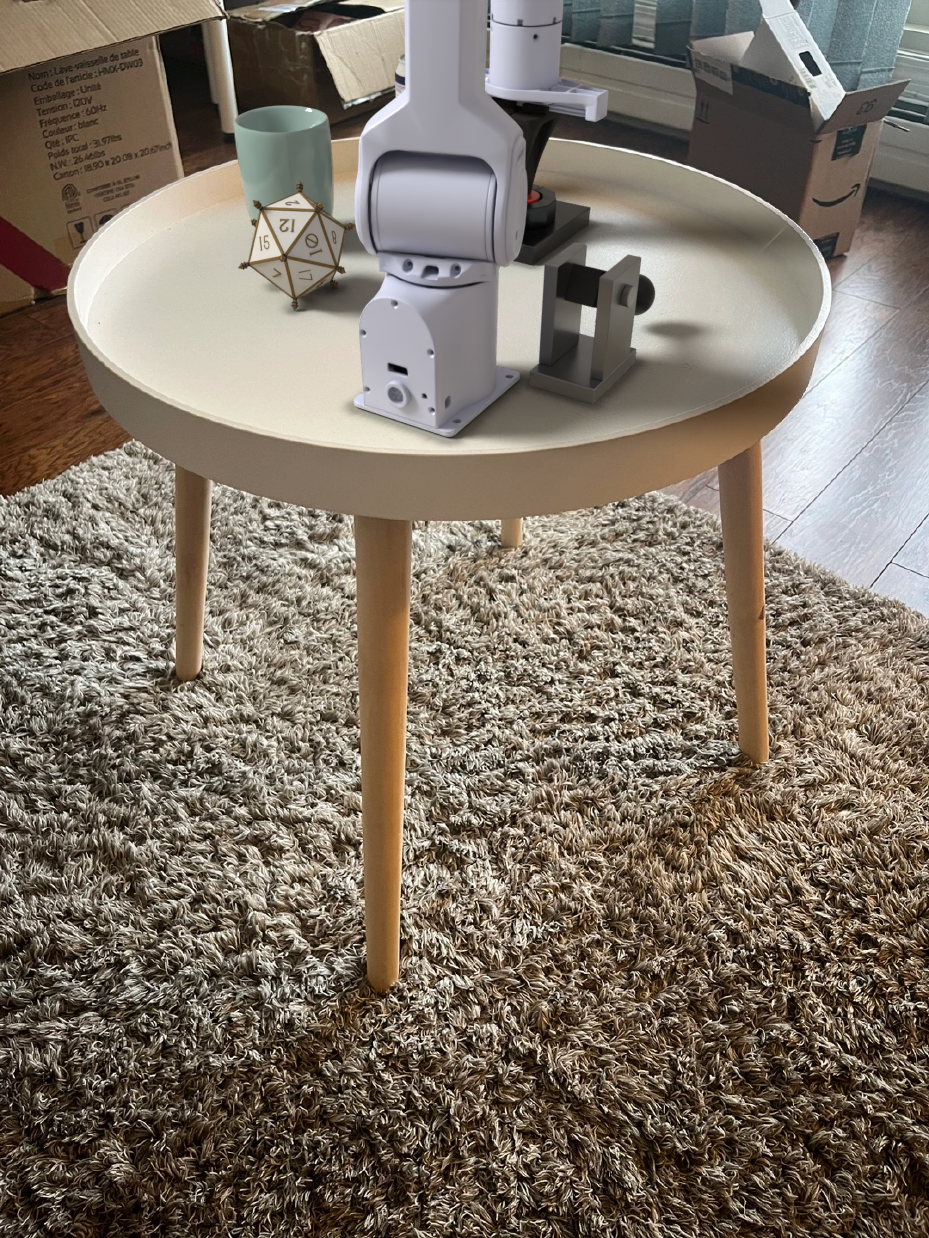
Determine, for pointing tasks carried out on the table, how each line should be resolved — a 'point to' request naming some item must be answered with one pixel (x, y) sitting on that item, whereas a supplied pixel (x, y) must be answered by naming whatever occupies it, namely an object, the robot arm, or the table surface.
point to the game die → (296, 245)
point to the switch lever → (587, 286)
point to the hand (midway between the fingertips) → (519, 195)
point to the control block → (549, 225)
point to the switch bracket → (576, 357)
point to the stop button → (533, 197)
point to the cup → (284, 155)
